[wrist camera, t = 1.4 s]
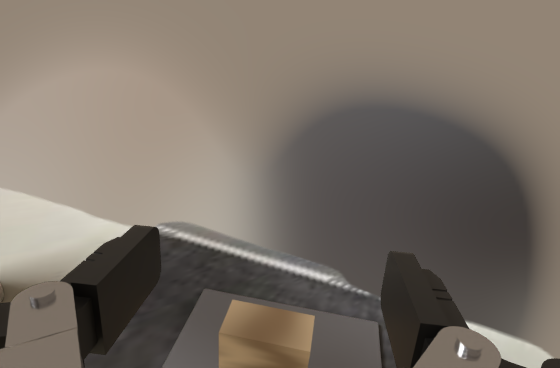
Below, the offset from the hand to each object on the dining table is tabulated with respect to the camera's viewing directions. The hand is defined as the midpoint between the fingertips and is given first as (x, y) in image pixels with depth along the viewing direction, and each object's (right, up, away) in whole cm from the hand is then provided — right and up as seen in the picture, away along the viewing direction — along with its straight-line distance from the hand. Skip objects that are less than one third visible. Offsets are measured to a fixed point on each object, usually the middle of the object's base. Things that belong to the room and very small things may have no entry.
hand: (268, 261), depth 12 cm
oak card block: (-1, -19, +18) cm, 26 cm away
